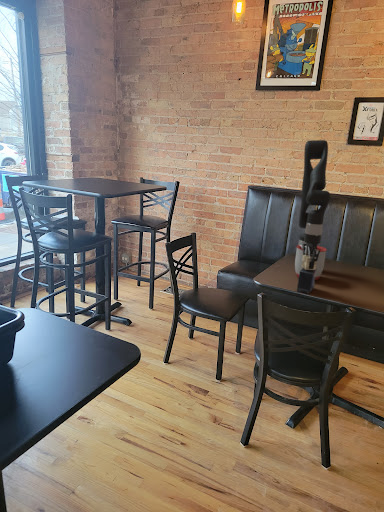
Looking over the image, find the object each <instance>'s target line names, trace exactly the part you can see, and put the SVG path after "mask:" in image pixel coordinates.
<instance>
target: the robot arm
mask: <svg viewBox="0 0 384 512" xmlns="http://www.w3.org/2000/svg"><path fill="white" fill-rule="evenodd" d="M328 154H329V144H328V141H327V140H325V139H314V140H311V139H310V140H307V141H306V143H305V145H304V155H303V156H304V159H303V160H304V161H303V163H304V164H303V165H304V166H303V175H302V176H303V177H302V186H301V200H300V201H301V203H300V210H299V217H298V227H299V228H301V229H305V230H304V233H302V234H301V233H300V234H299V239H298V245H300V246H301V248H302V249H303V255H309V257H310V262H309V269H313V268H314V262H315V261H317V260H318V257H319V253H320V250H317V246H318V245H319V244H321V242H322V234H323V225H324V224H323V223H324V217H325V212H326V210H327V208H328V205H329V203H330V201H331V199H332V197H331V196H332V195H331V193H330V192H329V191H328V190H325V188H327V187H326V186H327V182H326V179H327V178H326V177H327V176H326V175H327V172H326V171H327V164H328V156H329V155H328ZM311 160H319V161H318V163H317V164H316V165H315V166H314V167H313V165H312V162H311ZM310 206H316V207H319V208H317V209H314V210H313V209H312V210H309V211H308V212H307V210H308V208H309V207H310ZM311 254H313V255H311Z"/></svg>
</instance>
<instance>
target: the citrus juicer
mask: <svg viewBox="0 0 384 512" xmlns="http://www.w3.org/2000/svg"><path fill="white" fill-rule="evenodd" d="M317 250H320V253H319V257H318V260H317V264H316V269H317V270H316V277H315V281H317V280H319V279H320V278H321V276H322V273H323V271H324V267H325V262H326V260H325V259H326V253H327V248H326V247H323V246H320V245H317ZM311 255H313V254H311ZM302 259H303V249H302V248H301V246H300V245H299V244H297V245H296V253H295V260H294V269H295V275H296V277H297V278H298V279H299V273H300V271H301V270H302V269H303V267H302Z"/></svg>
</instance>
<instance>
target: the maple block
mask: <svg viewBox="0 0 384 512" xmlns="http://www.w3.org/2000/svg"><path fill="white" fill-rule="evenodd" d="M309 262H310V257H309V255H303V259H302V267H303V268H304V269H305V270H316V264H317V261H315V262H314V268H313V269H309Z"/></svg>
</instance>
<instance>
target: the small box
mask: <svg viewBox="0 0 384 512" xmlns="http://www.w3.org/2000/svg"><path fill="white" fill-rule="evenodd" d="M316 270H317V269H316ZM316 270H305V269H304V268H303V269H302V270H301V271H300V273H299V278H298V280H297V281H298V282H297V286H296V292H299V293H304V294H307V295H309V294H311V292H313V291H312V290H313V289H314V288H315V282H316V280H315V277H316Z"/></svg>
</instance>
